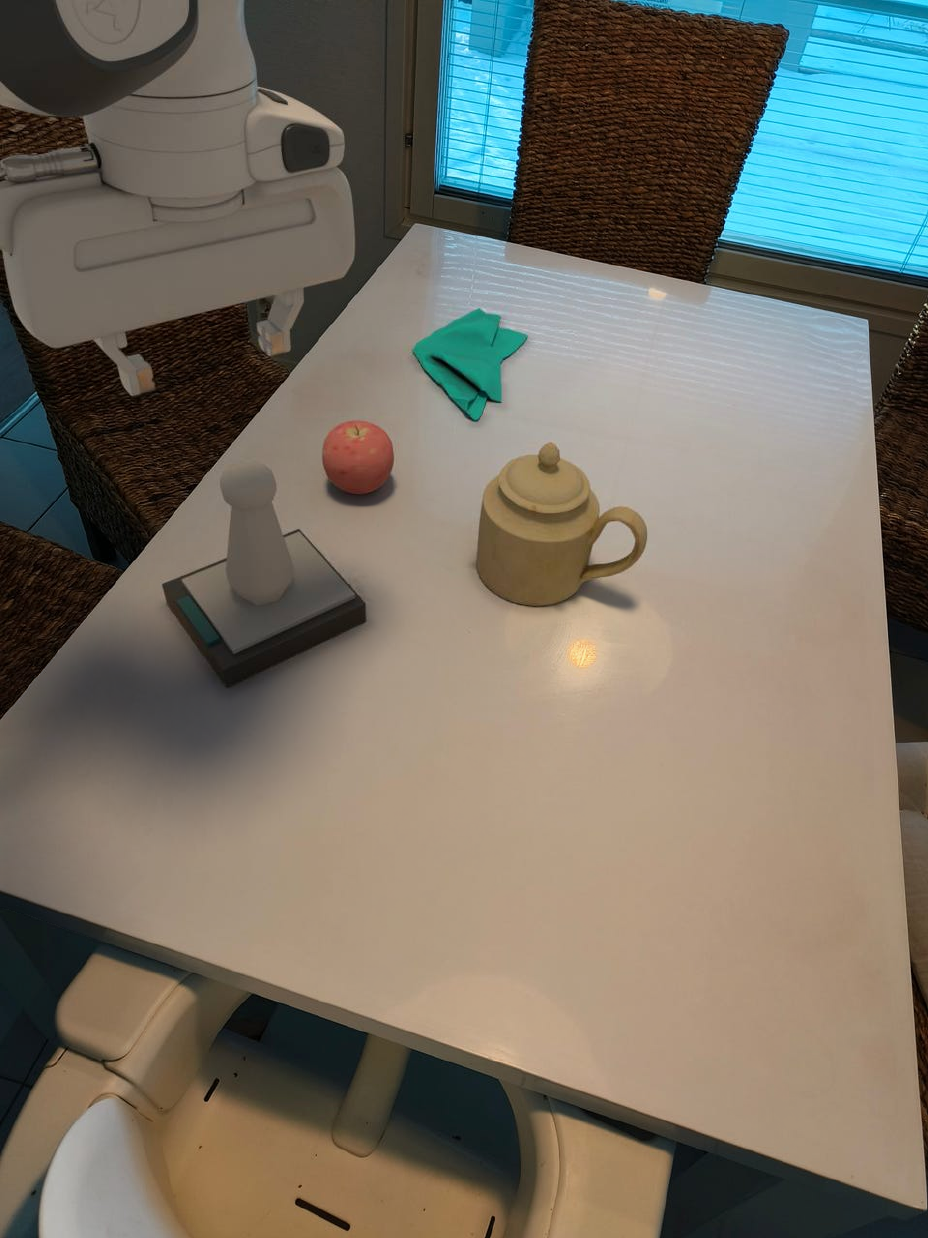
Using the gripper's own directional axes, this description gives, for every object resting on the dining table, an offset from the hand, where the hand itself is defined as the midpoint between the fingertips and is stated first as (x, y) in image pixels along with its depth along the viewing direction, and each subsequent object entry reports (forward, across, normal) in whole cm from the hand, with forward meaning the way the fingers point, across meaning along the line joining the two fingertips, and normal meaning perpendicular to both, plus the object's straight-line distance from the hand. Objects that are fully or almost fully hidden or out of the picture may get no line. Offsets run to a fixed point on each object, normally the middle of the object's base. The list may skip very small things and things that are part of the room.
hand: (209, 369), depth 55 cm
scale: (+28, +4, +3) cm, 28 cm away
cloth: (+27, +46, +29) cm, 61 cm away
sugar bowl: (+27, +29, -7) cm, 41 cm away
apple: (+28, +21, +14) cm, 37 cm away
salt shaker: (+25, +3, +3) cm, 25 cm away
